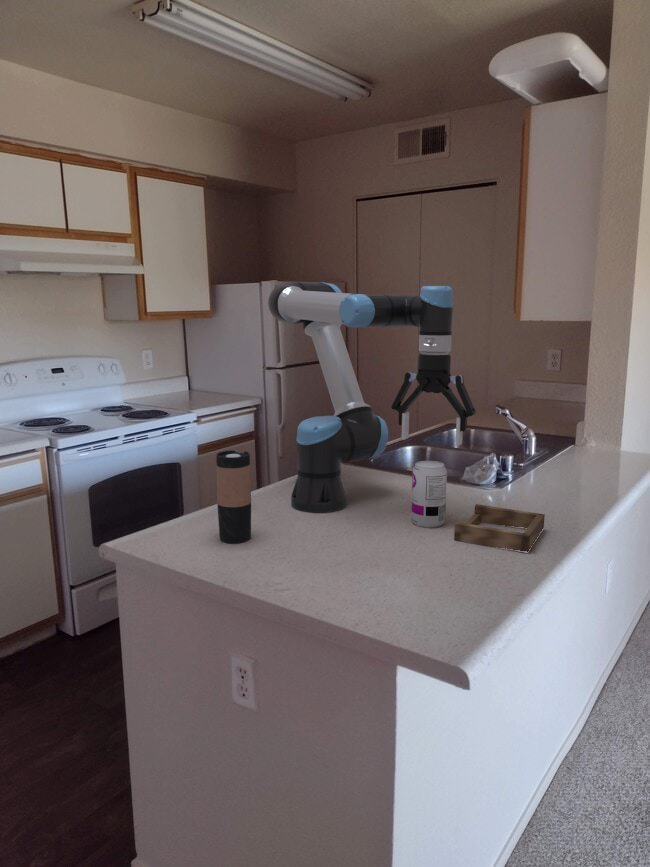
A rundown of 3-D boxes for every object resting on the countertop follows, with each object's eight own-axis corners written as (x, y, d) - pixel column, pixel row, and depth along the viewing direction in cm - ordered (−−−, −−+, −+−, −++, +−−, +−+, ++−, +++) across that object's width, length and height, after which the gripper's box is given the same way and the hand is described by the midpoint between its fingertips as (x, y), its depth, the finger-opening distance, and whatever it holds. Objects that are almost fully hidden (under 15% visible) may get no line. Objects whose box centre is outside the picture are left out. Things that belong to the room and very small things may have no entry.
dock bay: (454, 540, 148) (454, 523, 147) (475, 519, 162) (476, 504, 162) (527, 553, 140) (529, 536, 139) (543, 530, 155) (544, 514, 154)
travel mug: (224, 546, 144) (222, 459, 140) (214, 535, 151) (211, 452, 147) (256, 540, 148) (255, 455, 144) (245, 530, 154) (243, 448, 150)
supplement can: (407, 526, 157) (409, 466, 155) (416, 516, 165) (417, 458, 162) (440, 530, 154) (443, 469, 152) (447, 520, 162) (450, 461, 159)
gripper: (379, 352, 154) (377, 439, 159) (482, 356, 143) (478, 450, 147) (391, 350, 161) (389, 433, 165) (491, 354, 149) (486, 444, 153)
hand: (431, 441), depth 156 cm, fingers open, 13 cm apart
